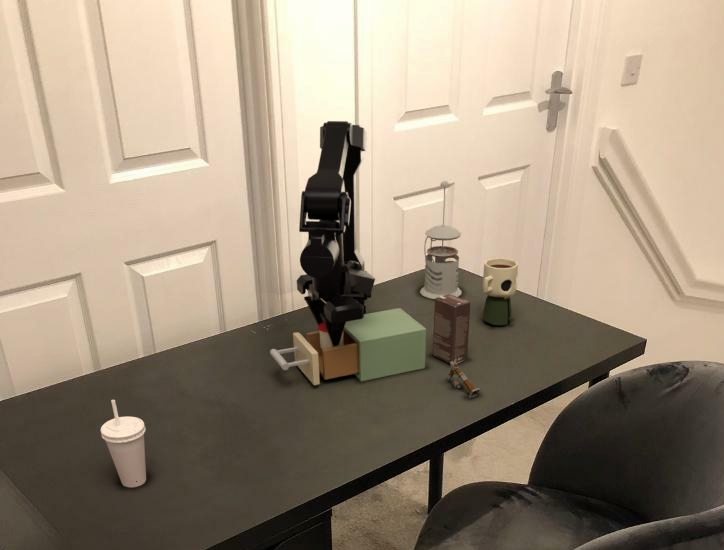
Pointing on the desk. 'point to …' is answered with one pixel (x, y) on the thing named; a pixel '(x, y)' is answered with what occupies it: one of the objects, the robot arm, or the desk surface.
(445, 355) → the box
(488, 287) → the character mug
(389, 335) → the green drawer cabinet
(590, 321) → the desk surface
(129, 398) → the desk surface
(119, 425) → the smoothie
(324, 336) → the cylinder
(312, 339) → the pod drawer
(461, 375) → the wooden post with brackets
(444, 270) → the french press
